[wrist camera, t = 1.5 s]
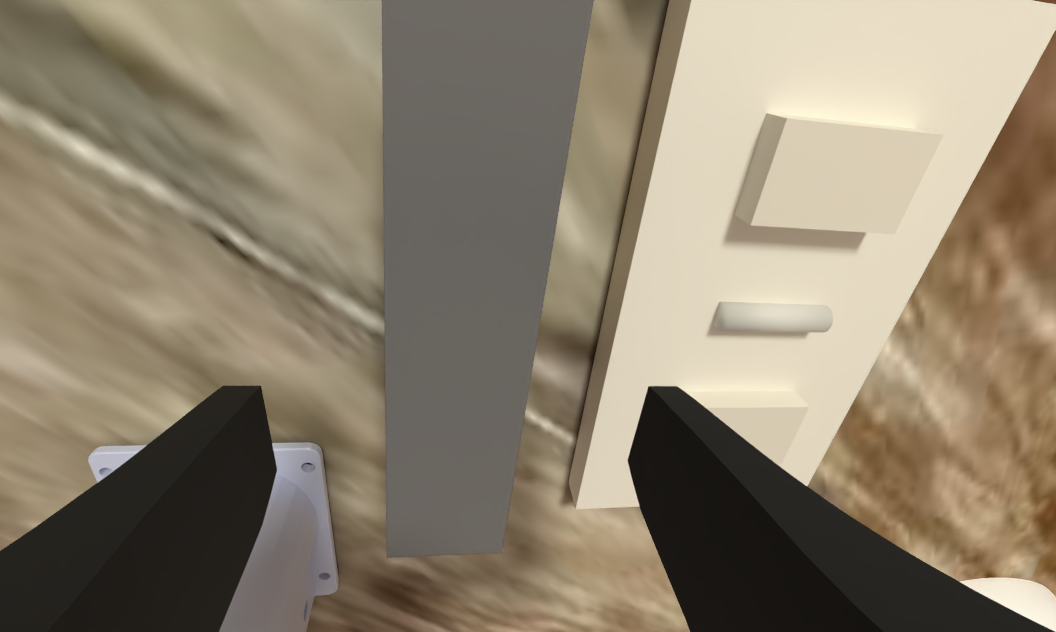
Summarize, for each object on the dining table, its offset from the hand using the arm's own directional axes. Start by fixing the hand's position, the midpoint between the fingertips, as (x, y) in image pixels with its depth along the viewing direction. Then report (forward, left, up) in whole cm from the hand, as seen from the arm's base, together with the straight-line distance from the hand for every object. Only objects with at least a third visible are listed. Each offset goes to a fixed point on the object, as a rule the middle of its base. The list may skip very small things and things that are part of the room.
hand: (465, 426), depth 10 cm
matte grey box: (0, 0, -8) cm, 8 cm away
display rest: (-1, -11, -8) cm, 14 cm away
